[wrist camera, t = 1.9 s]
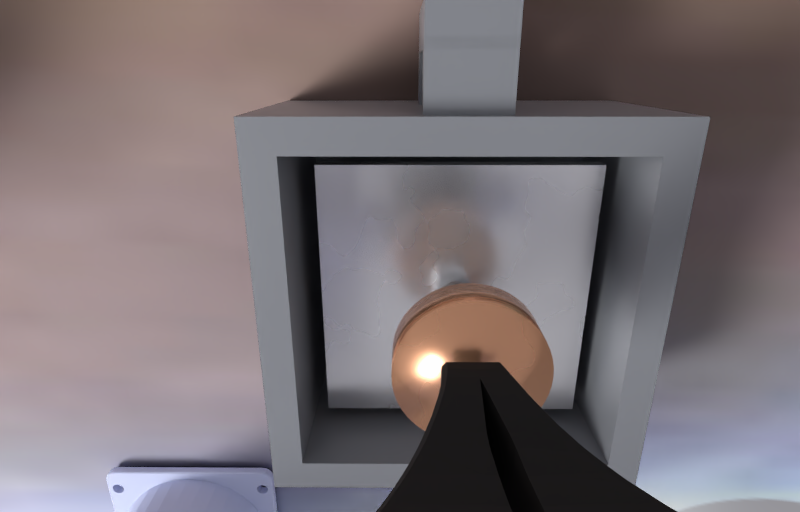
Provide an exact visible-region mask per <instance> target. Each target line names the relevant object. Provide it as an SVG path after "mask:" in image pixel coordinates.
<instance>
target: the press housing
mask: <svg viewBox="0 0 800 512" xmlns="http://www.w3.org/2000/svg"><path fill="white" fill-rule="evenodd" d="M523 3H524V0H423V3H422V7H421V10H420V13H419V85H418V101H285V102H282V103H278V104H275V105H272V106H268V107H265V108H261V109H258V110H255V111H251V112H248V113H244V114H241V115H238V116H234V124H235V133H236V142H237V151H238V160H239V169H240V178H241V187H242V196H243V205H244V214H245V224H246V233H247V242H248V251H249V260H250V269H251V278H252V287H253V296H254V305H255V314H256V324H257V333H258V342H259V351H260V360H261V369H262V378H263V387H264V396H265V405H266V414H267V424H268V433H269V442H270V451H271V460H272V469H273V478H274V487H340V488H394V487H395V485H396V484H397V482H398V481H399V479H400V478H401V476H402V475H403V473H404V471H405V470H406V468H407V466H408V464H409V463H410V461H411V459H412V457H413V456H414V454H415V452H416V450H417V448H418V446H419V444H420V442H421V440H422V437H423V435H424V433H425V431H424V430H422V429H421V428H419V427H418V426H417V425H415V424H414V423H413V422H412V421H411V420H410V419H409V418H408V417H407V416H406V415H405V413H404V412H403V411H402V409H401V408H329V406H328V389H327V372H326V355H325V338H324V321H323V304H322V287H321V270H320V253H319V236H318V219H317V202H316V185H315V168H314V165H315V164H316V163H317V162H601V163H603V164H605V165H607V166H606V173H605V180H604V187H603V194H602V201H601V208H600V215H599V223H598V230H597V237H596V244H595V251H594V258H593V265H592V272H591V279H590V287H589V294H588V301H587V308H586V315H585V322H584V329H583V336H582V344H581V351H580V358H579V365H578V372H577V379H576V386H575V393H574V401H573V408H572V409H543V410H544V411H545V412H546V413H547V414H548V415H549V416H550V417H551V418H552V419H553V420H554V421H555V422H556V423H557V424H558V425H559V426H560V427H561V428H562V429H564V430H565V431H566V432H567V433H568V434H569V435H570V436H571V437H572V438H574V439H575V440H576V441H577V442H578V443H579V444H580V445H582V446H583V447H584V448H585V449H586V450H588V451H589V452H590V453H591V454H593V455H594V456H595V457H597V458H598V459H599V460H601V461H602V462H603V463H605V464H606V465H607V466H608V467H610V468H611V469H612V470H614V471H615V472H616V473H618V474H619V475H621V476H622V477H623V478H625V479H626V480H628V481H629V482H631V483H632V484H634V485H635V483H636V479H637V474H638V469H639V464H640V459H641V454H642V449H643V444H644V439H645V435H646V430H647V425H648V420H649V415H650V410H651V405H652V400H653V395H654V391H655V386H656V381H657V376H658V371H659V366H660V361H661V356H662V351H663V347H664V342H665V337H666V332H667V327H668V322H669V317H670V312H671V308H672V303H673V298H674V293H675V288H676V283H677V278H678V273H679V268H680V264H681V259H682V254H683V249H684V244H685V239H686V234H687V229H688V224H689V220H690V215H691V210H692V205H693V200H694V195H695V190H696V185H697V180H698V176H699V171H700V166H701V161H702V156H703V151H704V146H705V141H706V136H707V132H708V127H709V122H710V117H709V116H703V115H697V114H691V113H684V112H678V111H672V110H666V109H660V108H654V107H648V106H642V105H636V104H629V103H623V102H617V101H516V96H517V83H518V70H519V56H520V43H521V30H522V17H523Z"/></svg>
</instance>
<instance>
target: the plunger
mask: <svg viewBox="0 0 800 512" xmlns="http://www.w3.org/2000/svg"><path fill="white" fill-rule="evenodd" d="M606 166H607V165H605V164H603V163H601V162H317V163H316V164H315V165H314V168H315V185H316V202H317V219H318V236H319V253H320V270H321V287H322V304H323V321H324V338H325V355H326V372H327V389H328V406H329V408H401V409H402V411H403V412H404V413H405V415H406V416H407V417H408V418H409V419H410V420H411V421H412V422H413V423H414V424H415V425H417V426H418V427H419V428H421V429H422V430H424V431H425V430H426V428H427V426H428V424H429V421H430V419H431V416H432V413H433V410H434V407H435V404H436V401H437V398H438V395H439V390H440V386H441V366H442V365H444V364H445V363H446V362H500V363H501V364H502V365H503V366H504V367H505V368H506V369H507V371H508V372H509V373H510V374H511V375H512V376H513V377H514V379H515V380H516V381H517V382H518V383H519V384H520V385H521V386H522V388H523V389H524V390H525V391H526V392H527V393H528V394H529V395H530V396H531V397H532V399H533V400H534V401H535V402H536V403H537V404H538V405H539V406H540V407H541V408H542V409H572V408H573V401H574V393H575V386H576V379H577V372H578V365H579V358H580V351H581V344H582V336H583V329H584V322H585V315H586V308H587V301H588V294H589V287H590V279H591V272H592V265H593V258H594V251H595V244H596V237H597V230H598V223H599V215H600V208H601V201H602V194H603V187H604V180H605V173H606Z"/></svg>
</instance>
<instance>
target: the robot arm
mask: <svg viewBox="0 0 800 512" xmlns="http://www.w3.org/2000/svg"><path fill="white" fill-rule="evenodd" d="M106 480H107V484H108V488H109V492H110V496H111V500H112V503H113V507H114V511H115V512H277V503H276V493H275V487H274V478H273V473H272V472H271V471H270V470H269V469H267V468H200V467H116V468H113V469H111V471H110V472H109V473H108V475H107V477H106ZM120 485H121V486H120ZM260 485H264V486H266V487H262V486H260ZM376 512H677V511H675V510H673V509H672V508H670V507H668V506H666V505H665V504H663V503H662V502H660V501H658V500H657V499H655V498H654V497H652V496H651V495H649V494H648V493H646V492H644V491H643V490H641V489H640V488H638V487H637V486H635V485H634V484H632V483H631V482H629V481H628V480H626V479H625V478H623V477H622V476H621V475H619V474H618V473H616V472H615V471H614V470H612V469H611V468H610V467H608V466H607V465H606V464H605V463H603V462H602V461H601V460H599V459H598V458H597V457H595V456H594V455H593V454H591V453H590V452H589V451H588V450H586V449H585V448H584V447H583V446H582V445H580V444H579V443H578V442H577V441H576V440H575V439H574V438H572V437H571V436H570V435H569V434H568V433H567V432H566V431H565V430H564V429H562V428H561V427H560V426H559V425H558V424H557V423H556V422H555V421H554V420H553V419H552V418H551V417H550V416H549V415H548V414H547V413H546V412H545V411H544V410H543V409H542V408H541V407H540V406H539V405H538V404H537V403H536V402H535V401H534V400H533V399H532V397H531V396H530V395H529V394H528V393H527V392H526V391H525V390H524V389H523V388H522V386H521V385H520V384H519V383H518V382H517V381H516V380H515V379H514V377H513V376H512V375H511V374H510V373H509V372H508V371H507V369H506V368H505V367H504V366H503V365H502V364H501V363H500V362H446V363H445V364H444V365H442V366H441V386H440V390H439V395H438V398H437V401H436V404H435V407H434V410H433V413H432V416H431V419H430V421H429V424H428V426H427V428H426V430H425V433H424V435H423V437H422V440H421V442H420V444H419V446H418V448H417V450H416V452H415V454H414V456H413V457H412V459H411V461H410V463H409V464H408V466H407V468H406V470H405V471H404V473H403V475H402V476H401V478H400V479H399V481H398V482H397V484H396V485H395V487H394V488H393V490H392V491H391V493H390V494H389V496H388V497H387V498H386V500H385V501H384V502H383V504H382V505H381V506H380V508H379V509H378V510H377V511H376Z"/></svg>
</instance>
